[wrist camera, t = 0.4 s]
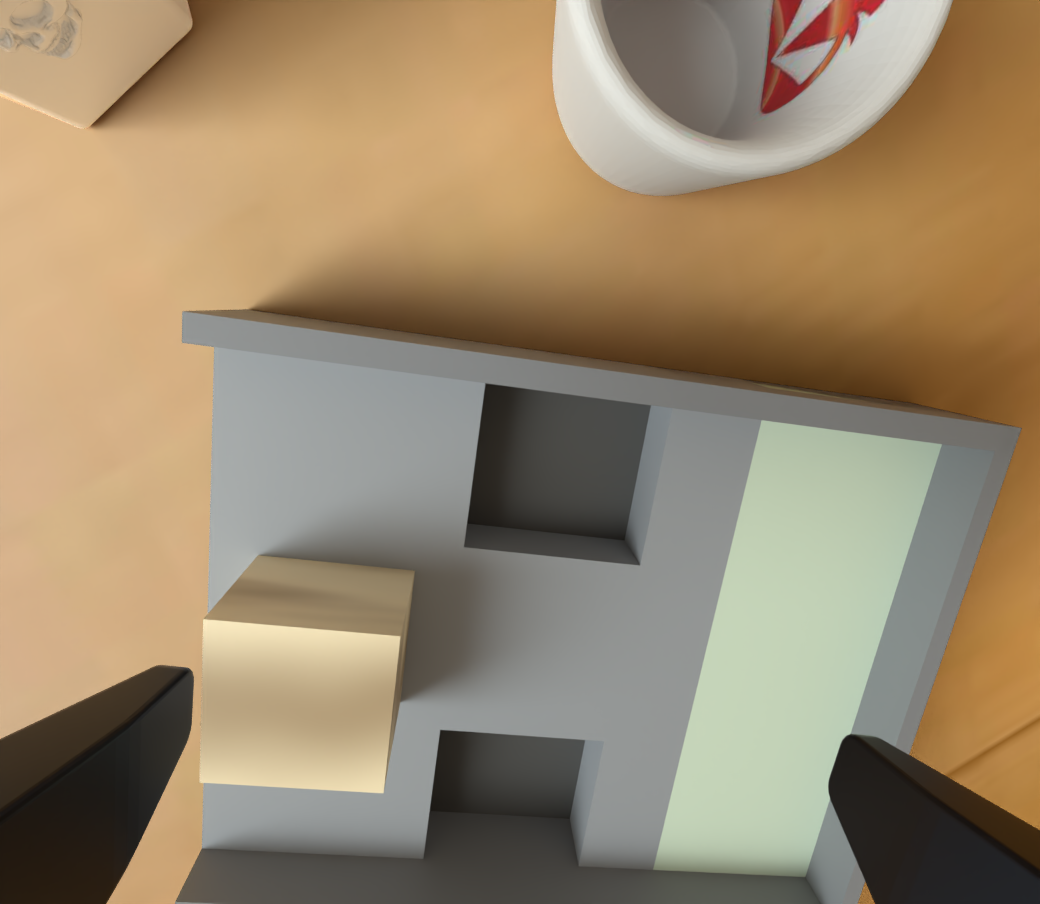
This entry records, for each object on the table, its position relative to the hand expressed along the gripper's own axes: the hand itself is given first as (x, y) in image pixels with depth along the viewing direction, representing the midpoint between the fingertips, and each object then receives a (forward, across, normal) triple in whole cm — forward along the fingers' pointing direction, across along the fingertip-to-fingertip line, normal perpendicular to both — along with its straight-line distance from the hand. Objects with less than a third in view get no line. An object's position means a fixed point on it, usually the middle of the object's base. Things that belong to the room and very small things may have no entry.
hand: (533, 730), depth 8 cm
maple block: (+11, +5, +6) cm, 14 cm away
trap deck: (+14, -3, +6) cm, 15 cm away
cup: (+14, -3, -14) cm, 20 cm away
